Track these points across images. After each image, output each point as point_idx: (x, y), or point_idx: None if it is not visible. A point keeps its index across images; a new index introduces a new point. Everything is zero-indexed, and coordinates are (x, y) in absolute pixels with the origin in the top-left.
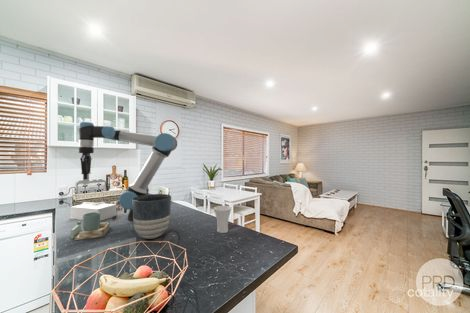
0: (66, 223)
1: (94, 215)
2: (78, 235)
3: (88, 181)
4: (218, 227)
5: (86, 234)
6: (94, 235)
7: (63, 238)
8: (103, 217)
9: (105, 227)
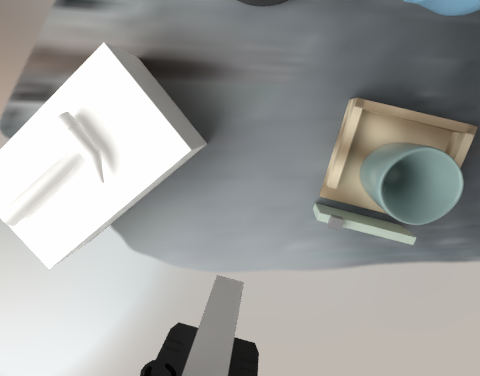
0: (161, 252)
1: (462, 174)
2: None
3: (233, 299)
4: None
5: None
6: None
7: (368, 252)
8: (184, 120)
9: (443, 119)
